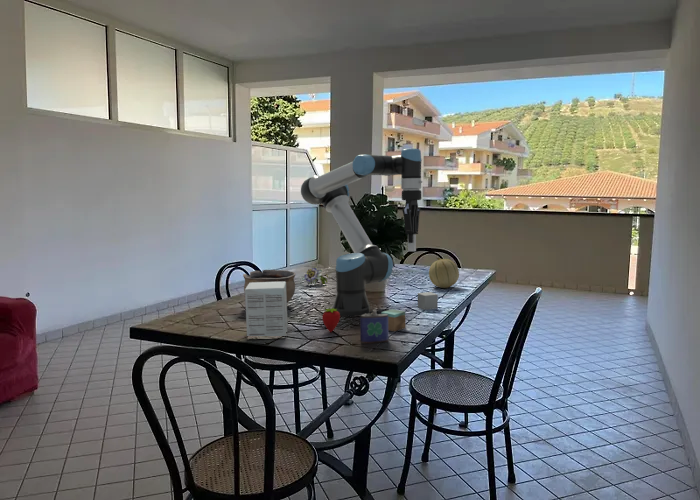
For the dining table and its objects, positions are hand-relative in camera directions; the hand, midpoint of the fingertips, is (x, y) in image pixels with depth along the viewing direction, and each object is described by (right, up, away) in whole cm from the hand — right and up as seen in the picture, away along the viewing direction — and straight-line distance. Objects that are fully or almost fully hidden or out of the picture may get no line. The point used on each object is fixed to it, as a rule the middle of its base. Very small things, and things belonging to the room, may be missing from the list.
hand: (411, 251), depth 198 cm
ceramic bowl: (-58, -24, +20) cm, 66 cm away
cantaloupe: (+23, -19, +57) cm, 64 cm away
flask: (-16, -30, -32) cm, 47 cm away
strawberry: (-30, -28, -20) cm, 46 cm away
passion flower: (-42, -18, +72) cm, 85 cm away
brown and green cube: (-9, -22, -17) cm, 29 cm away
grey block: (+8, -24, +14) cm, 29 cm away
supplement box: (-52, -29, -21) cm, 64 cm away
